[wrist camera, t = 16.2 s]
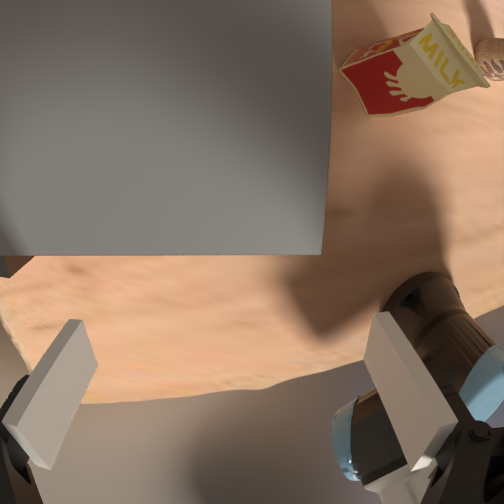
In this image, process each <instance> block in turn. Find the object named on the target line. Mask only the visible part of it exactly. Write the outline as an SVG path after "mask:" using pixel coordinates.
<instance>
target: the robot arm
mask: <svg viewBox="0 0 504 504" xmlns="http://www.w3.org/2000/svg"><path fill="white" fill-rule="evenodd" d="M364 362H365V364H366V366H367V368H368V371H369V373H370V375H371V377H372V380H373V382H374V384H375V386H376V388H375V389H373V390H371V391H369V392H368V393H366V394H364V395H362V396H358V397H357V398H355V400H354V401H352V402H350V403H349V404H347V405H345V406H344V407H342V408H340V409H339V410H338V411H337V412H336V413H335V415H334V417H333V419H332V424H331V437H332V444H333V449H334V453H335V456H336V459H337V462H338V464H339V466H340V467H341V468H342V471H343V473H344V475H345V476H346V477H347V478H348V479H350V480H353V481H355V480H356V481H359V480H361V481H362V484H363V486H364V488H365V489H367V490H370V491H373V492H376V493H378V494H379V496H380V498H381V500H382V503H383V504H504V427H501V428H491V427H490V426H489V425H488V424H487V423H485V422H484V421H485V420H486V419H487V418H488V417H489V416H491V414H492V413H493V412H494V411H495V410H496V409H497V408H498V406H499V405H500V404H501V402H502V401H503V399H504V354H503V352H502V349H501V348H500V346H499V345H497V344H496V343H495V342H494V341H493V340H492V339H491V338H490V337H489V336H488V334H487V333H486V332H485V331H484V330H483V329H482V328H481V327H480V326H479V325H478V324H477V323H476V322H475V321H474V319H473V318H472V317H471V316H470V315H469V314H468V313H467V312H466V310H465V308H464V306H463V304H462V302H461V300H460V296H459V293H458V290H457V288H456V287H455V285H454V284H453V283H452V282H451V281H450V280H449V279H448V278H446V277H445V276H444V275H442V274H439V273H434V272H430V273H423V274H420V275H417V276H415V277H413V278H411V279H409V280H408V281H406V282H405V283H404V284H402V285H401V286H400V287H399V288H398V289H397V290H396V291H395V292H394V293H393V295H392V296H391V297H390V299H389V300H388V302H387V304H386V306H385V308H384V310H383V312H378V313H373V318H372V323H371V328H370V333H369V338H368V342H367V347H366V351H365V356H364ZM97 367H98V363H97V360H96V358H95V355H94V352H93V349H92V347H91V344H90V341H89V338H88V335H87V332H86V329H85V326H84V323H83V320H74V319H69V320H68V322H67V323H66V324H65V326H64V327H63V328H62V330H61V331H60V333H59V334H58V335H57V337H56V338H55V340H54V341H53V342H52V344H51V345H50V347H49V348H48V349H47V351H46V352H45V354H44V355H43V357H42V358H41V360H40V361H39V363H38V364H37V366H36V367H35V369H34V370H33V372H32V373H31V375H25V376H24V377H23V378H22V379H20V380H19V381H18V382H17V384H16V385H15V387H14V388H13V390H12V392H11V393H10V394H9V396H8V399H6V401H5V402H4V404H3V405H2V407H1V409H0V504H43V502H42V499H41V496H40V494H39V491H38V488H37V486H36V483H35V480H34V477H33V474H32V471H31V468H30V467H29V465H28V464H27V462H28V459H29V458H30V459H31V460H32V461H33V462H34V463H35V464H36V466H39V467H42V468H46V469H49V470H52V467H53V465H54V462H55V460H56V457H57V455H58V452H59V450H60V448H61V445H62V443H63V440H64V438H65V436H66V433H67V431H68V429H69V427H70V424H71V422H72V419H73V417H74V415H75V413H76V411H77V408H78V406H79V404H80V402H81V400H82V398H83V396H84V394H85V391H86V389H87V387H88V385H89V383H90V381H91V379H92V377H93V375H94V373H95V371H96V369H97ZM437 464H438V465H437Z"/></svg>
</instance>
